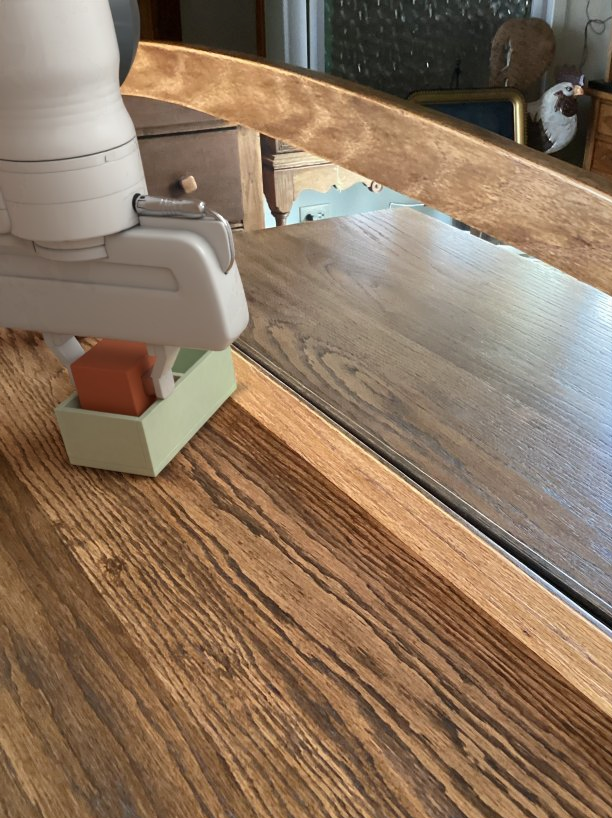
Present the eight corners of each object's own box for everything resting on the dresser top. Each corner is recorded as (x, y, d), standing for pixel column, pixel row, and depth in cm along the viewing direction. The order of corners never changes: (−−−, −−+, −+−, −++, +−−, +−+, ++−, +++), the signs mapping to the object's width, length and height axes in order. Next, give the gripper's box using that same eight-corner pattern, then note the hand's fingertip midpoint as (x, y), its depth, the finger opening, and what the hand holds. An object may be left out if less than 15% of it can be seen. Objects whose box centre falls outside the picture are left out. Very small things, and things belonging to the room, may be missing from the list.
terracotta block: (85, 422, 64) (68, 365, 61) (118, 392, 67) (104, 337, 64) (141, 430, 62) (126, 372, 60) (172, 399, 66) (159, 343, 63)
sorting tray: (70, 464, 65) (53, 409, 62) (161, 378, 75) (150, 327, 72) (155, 477, 63) (141, 421, 60) (237, 388, 73) (229, 336, 70)
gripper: (248, 184, 55) (275, 384, 63) (-29, 168, 60) (30, 355, 69) (201, 218, 50) (237, 429, 59) (-95, 197, 55) (-23, 394, 64)
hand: (123, 389), depth 64 cm, fingers closed on terracotta block, 4 cm apart
